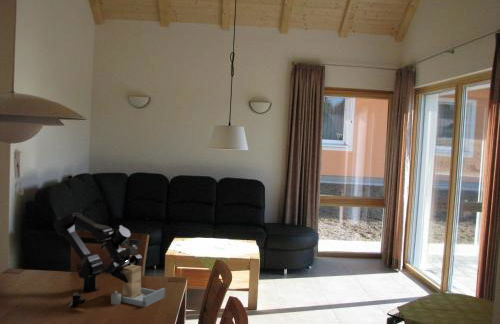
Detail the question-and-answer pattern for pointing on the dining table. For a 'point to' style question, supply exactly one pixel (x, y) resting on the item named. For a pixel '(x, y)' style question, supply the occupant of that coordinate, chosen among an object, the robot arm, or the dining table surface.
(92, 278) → the robot arm
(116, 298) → the bay
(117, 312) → the dining table surface
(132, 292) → the tan wooden block
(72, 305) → the black chunky block
